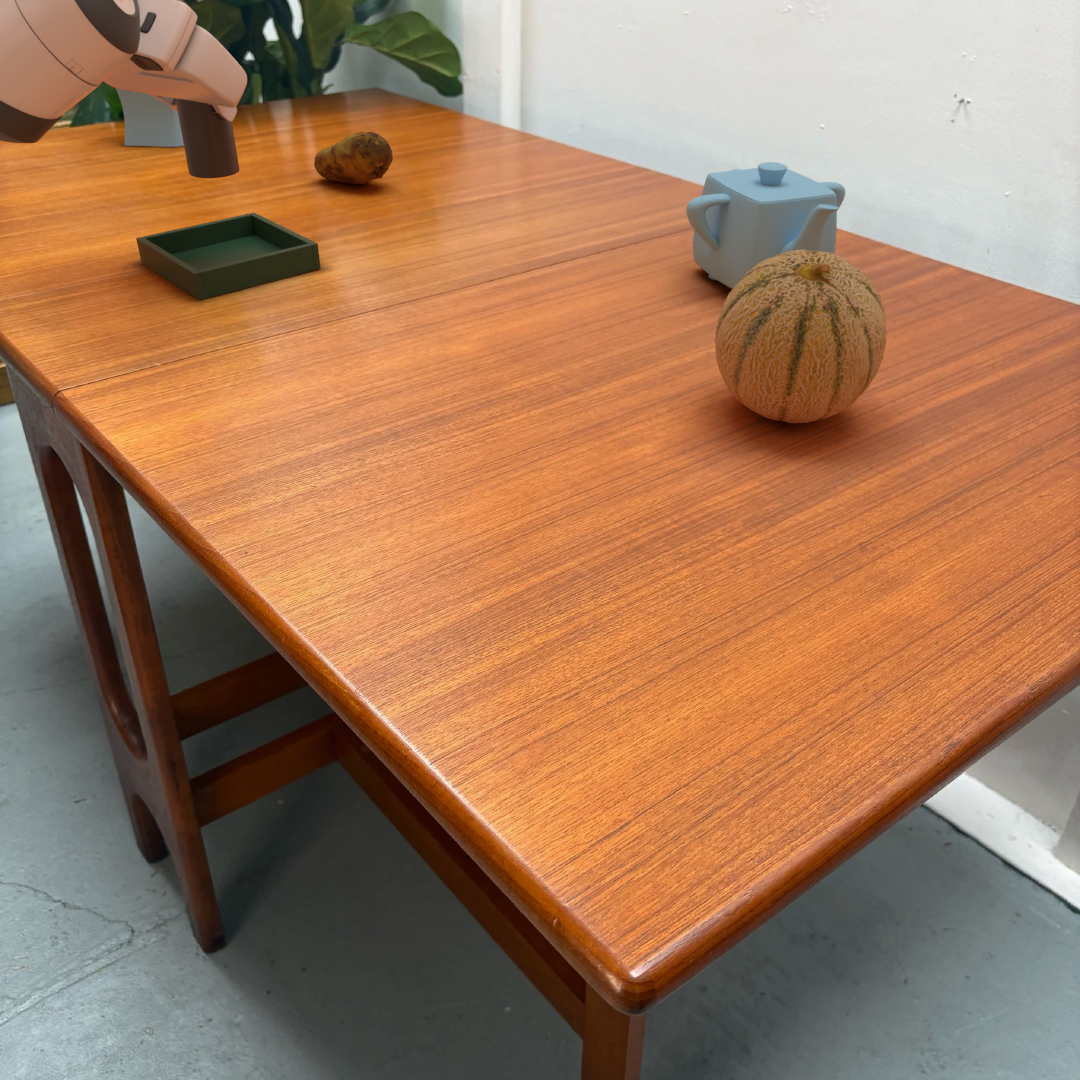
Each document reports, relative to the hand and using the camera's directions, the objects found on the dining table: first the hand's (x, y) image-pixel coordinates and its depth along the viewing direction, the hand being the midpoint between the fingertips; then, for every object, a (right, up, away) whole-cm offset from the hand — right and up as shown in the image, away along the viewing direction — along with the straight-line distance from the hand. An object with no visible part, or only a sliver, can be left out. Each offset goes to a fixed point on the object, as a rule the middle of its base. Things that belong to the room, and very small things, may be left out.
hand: (208, 111), depth 114 cm
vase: (-27, +20, +59) cm, 67 cm away
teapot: (+63, -19, +5) cm, 66 cm away
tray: (0, -15, +9) cm, 17 cm away
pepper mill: (0, -5, +3) cm, 6 cm away
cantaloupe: (+60, -36, -21) cm, 73 cm away
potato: (+10, +4, +37) cm, 39 cm away
